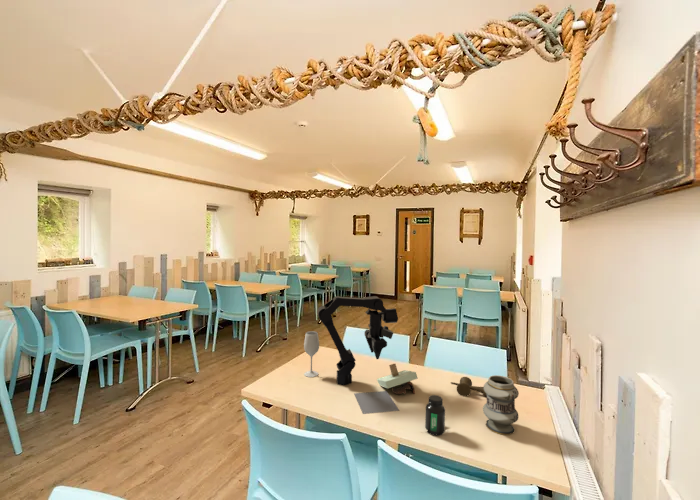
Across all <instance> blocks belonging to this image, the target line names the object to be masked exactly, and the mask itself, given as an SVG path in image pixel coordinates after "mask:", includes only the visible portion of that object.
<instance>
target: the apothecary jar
mask: <svg viewBox="0 0 700 500" xmlns="http://www.w3.org/2000/svg"><path fill="white" fill-rule="evenodd" d="M483 387H484V391H485V393H486V394H487V396H486V403H484V405H483V407H482V411H483V414H484V416H485V417H486V418H487V419H486V421H485V427H486V428H487V429H488V430H489V431H490V432H493V433H495V434H497V435H503V436H510V435H513V434H514V433H515V431H516V430H515V427H514V426H513V425H512V424H514V423H516V422H518V420H519V413H518V411H517V409H516V405H515V404H516V402H515V401H516V400H515V399H517V398H518V397H519V389H518V388H517V387H516V386H515V384H514V380H513V379H512V378H510V377H507V376H503V375H499V374H498V375H496V374H495V375H494V374H493V375H490V376H489V377H488V380H487V381H486V382H485V383H484V384H483Z"/></svg>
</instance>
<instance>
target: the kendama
mask: <svg viewBox="0 0 700 500" xmlns="http://www.w3.org/2000/svg"><path fill="white" fill-rule="evenodd" d="M459 379H460V380H459V383H457V382H452V381H451V382H450V384H451V385H455V386H456V392H457V393H458V395H459V396H462V397H469V396H470V395H471V392H472V390H473V391H476V392H477V393H480V394H482V395H484V396H485V397H487V394H486V393H485V391H484V386H476V385H473V381H472V379H471V378H470V377H468V376H462V377H461V378H459Z"/></svg>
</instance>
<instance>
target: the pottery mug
mask: <svg viewBox="0 0 700 500" xmlns="http://www.w3.org/2000/svg"><path fill="white" fill-rule="evenodd" d="M400 385H401V386H400V387H396V386H394V387H392V393H393V394H395V395H400V394H407V393H406V391H407V390H411V391H412V394H414V395H415V393H416V392H415V387H414V385H413V383H412V381H409V382H406V383H403V384H400Z"/></svg>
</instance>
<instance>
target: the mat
mask: <svg viewBox="0 0 700 500" xmlns="http://www.w3.org/2000/svg"><path fill="white" fill-rule="evenodd" d="M353 394H354V397H355V399H356V402H357V404H358V406H359V408H360V410H361V413H362V415H366V414H378V413H389V412H391V413H392V412H400V409H399V408H398V406H397V404H396V402H395V401H394V400H393V399H392V397H391V395H390V394H389V393H388V391H387V390H381V391H369V392H356V393H353Z"/></svg>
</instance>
